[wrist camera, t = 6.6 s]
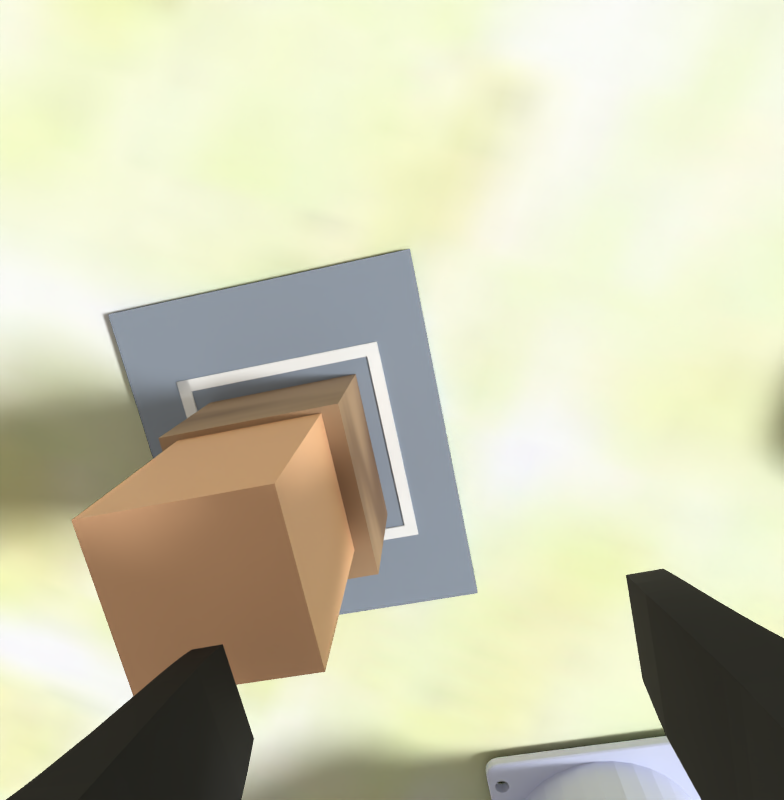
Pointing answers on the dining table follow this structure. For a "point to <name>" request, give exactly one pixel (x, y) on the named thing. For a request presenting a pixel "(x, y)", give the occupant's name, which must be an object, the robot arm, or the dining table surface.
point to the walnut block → (345, 442)
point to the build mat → (315, 361)
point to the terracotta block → (224, 553)
